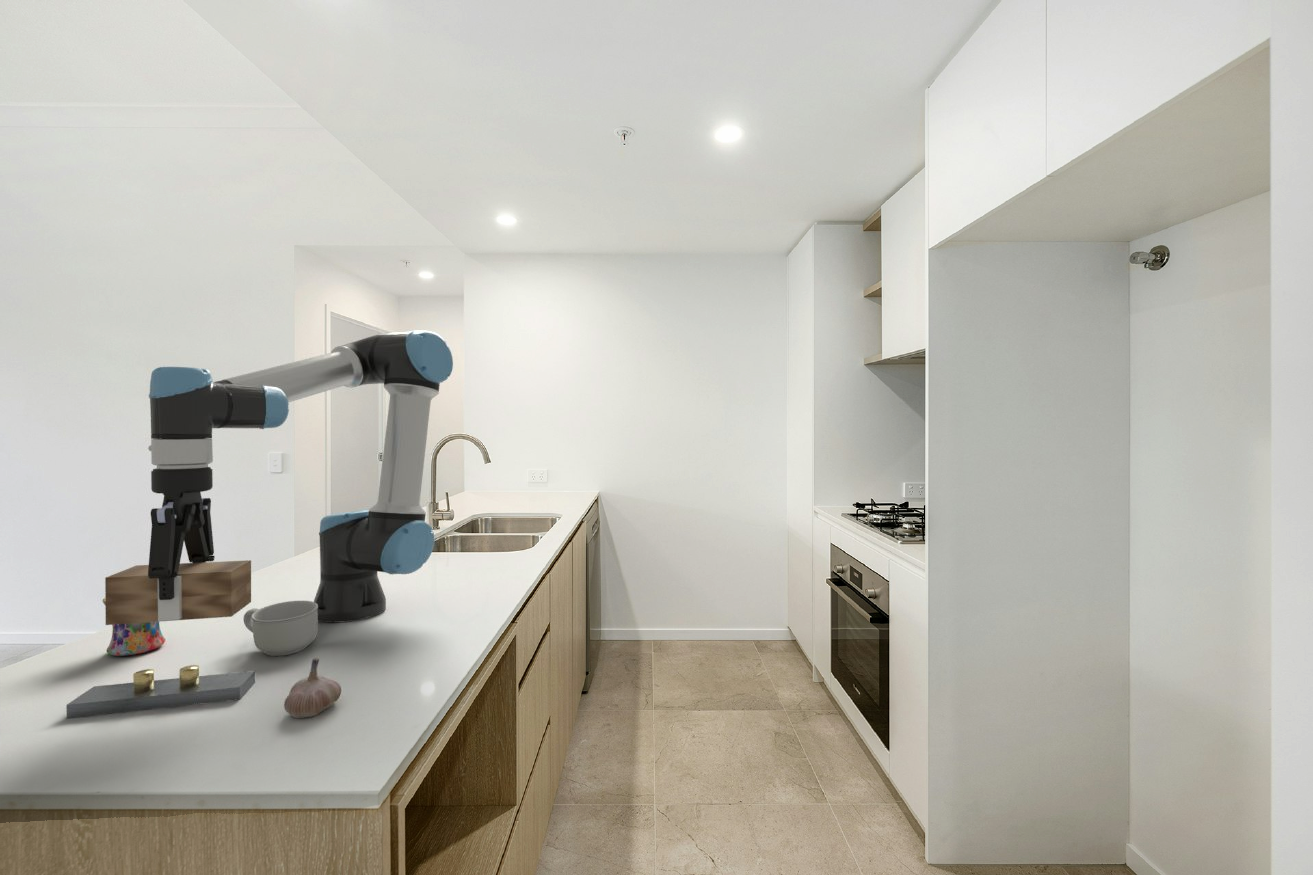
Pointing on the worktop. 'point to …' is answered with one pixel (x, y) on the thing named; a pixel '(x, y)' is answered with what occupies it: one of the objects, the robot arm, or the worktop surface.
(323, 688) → the garlic bulb
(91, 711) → the mount rail
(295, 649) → the teacup
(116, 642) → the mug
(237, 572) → the brown wooden block
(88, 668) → the worktop surface
